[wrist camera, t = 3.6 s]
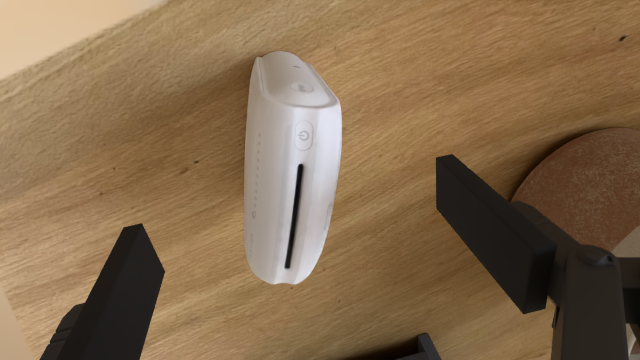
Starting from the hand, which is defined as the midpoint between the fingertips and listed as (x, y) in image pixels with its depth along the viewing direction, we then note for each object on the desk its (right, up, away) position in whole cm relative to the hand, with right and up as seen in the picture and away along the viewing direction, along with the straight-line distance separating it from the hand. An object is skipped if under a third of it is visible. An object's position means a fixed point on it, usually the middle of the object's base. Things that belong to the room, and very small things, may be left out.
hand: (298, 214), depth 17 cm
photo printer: (-2, +6, +10) cm, 12 cm away
